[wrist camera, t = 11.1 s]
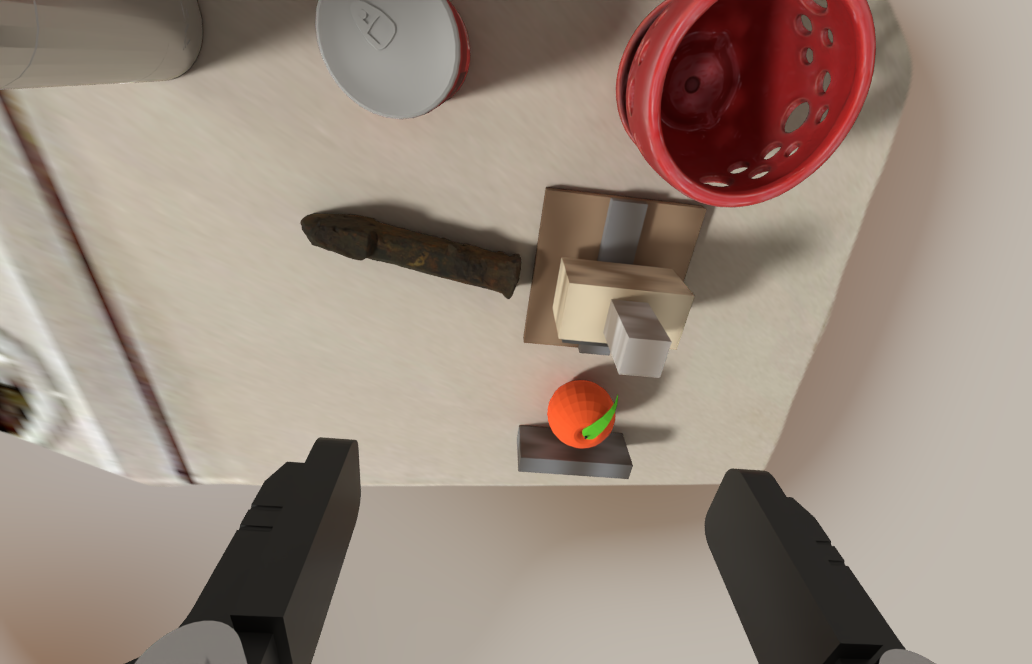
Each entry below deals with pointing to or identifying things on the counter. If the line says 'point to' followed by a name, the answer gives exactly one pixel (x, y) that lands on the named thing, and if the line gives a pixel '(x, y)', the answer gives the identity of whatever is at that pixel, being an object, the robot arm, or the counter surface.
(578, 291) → the jaw
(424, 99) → the canned food
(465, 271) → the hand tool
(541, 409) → the counter surface
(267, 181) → the counter surface
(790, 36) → the plant pot
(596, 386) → the clementine
